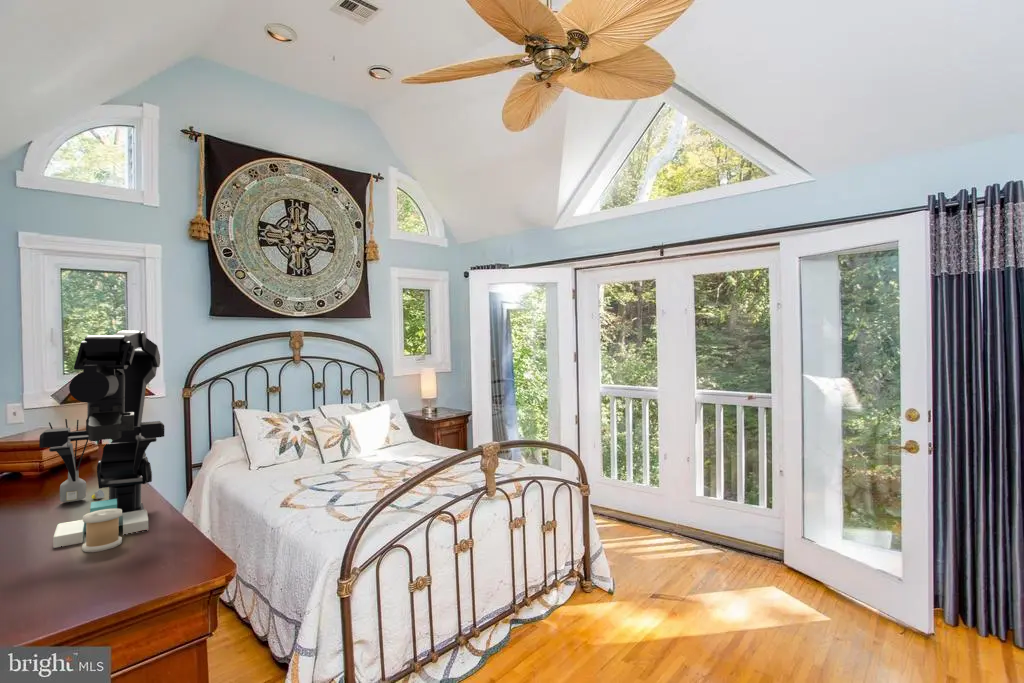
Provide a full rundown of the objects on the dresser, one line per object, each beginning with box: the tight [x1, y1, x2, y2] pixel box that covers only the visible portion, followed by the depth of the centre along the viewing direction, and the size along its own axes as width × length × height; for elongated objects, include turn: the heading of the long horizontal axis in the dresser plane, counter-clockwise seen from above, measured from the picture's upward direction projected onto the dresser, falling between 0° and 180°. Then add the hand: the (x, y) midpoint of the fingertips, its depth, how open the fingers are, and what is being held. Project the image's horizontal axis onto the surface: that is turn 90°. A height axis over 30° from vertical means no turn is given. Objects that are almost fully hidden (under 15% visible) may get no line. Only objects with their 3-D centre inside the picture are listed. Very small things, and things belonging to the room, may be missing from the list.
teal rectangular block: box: [89, 499, 117, 513], centre depth 97 cm, size 5×4×6 cm
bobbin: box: [81, 508, 123, 553], centre depth 91 cm, size 6×6×6 cm
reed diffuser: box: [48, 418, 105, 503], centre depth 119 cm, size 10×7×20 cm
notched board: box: [52, 508, 149, 549], centre depth 98 cm, size 9×14×2 cm, turn 129°
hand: (105, 477), depth 97 cm, fingers open, 9 cm apart
